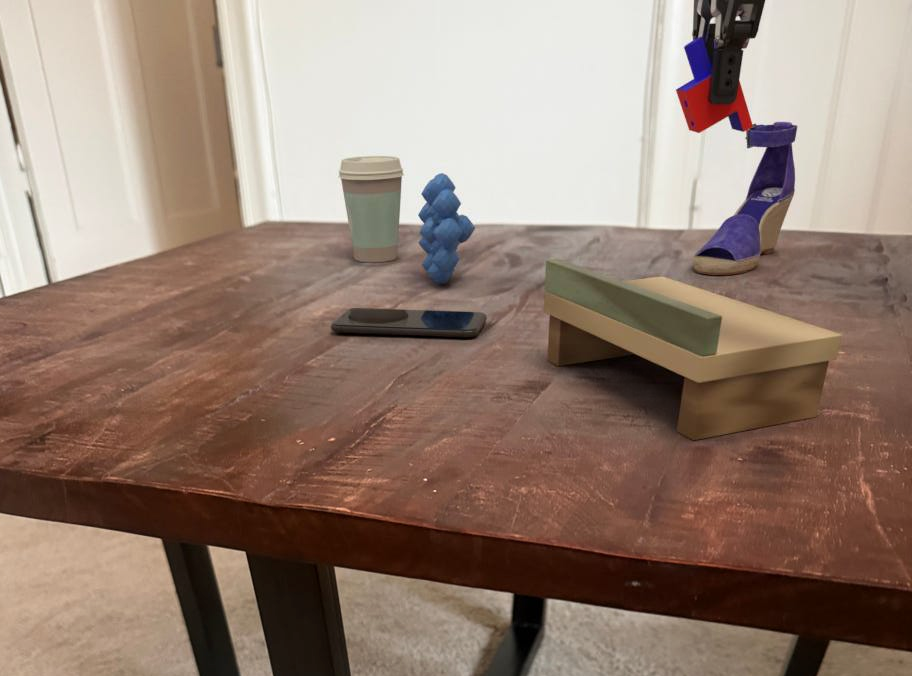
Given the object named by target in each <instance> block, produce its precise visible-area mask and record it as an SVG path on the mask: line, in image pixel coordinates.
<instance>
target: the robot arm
mask: <svg viewBox="0 0 912 676" xmlns="http://www.w3.org/2000/svg"><path fill="white" fill-rule="evenodd" d="M765 3H766V0H693V17H692V33H691V36H692V41H693V40H695V39H697V38H699V37H702V38H703V41H704V45H705V48H706V51H707V54H708V57H709V61H710V64H711V67H712V70H711V78H710V86H709V94H708V101H709V102H710V103H711V104H732V103H733V102H734V101H735V100H736V98H737V92H738V85H739V81H740V77H741V72H742V71H741V70H742V63H743V56H744V49H747V48H748V46H749V43H750V39H751V40H752V39H756V37H757V35H758V32H759V29H760V28H759V27H760V25H761V24H760V23H761V20H762V16H763V11H764V8H765ZM737 17H739V19H737ZM713 18H715V23H711V20H712V19H713Z"/></svg>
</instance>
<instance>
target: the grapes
mask: <svg viewBox="0 0 912 676" xmlns="http://www.w3.org/2000/svg"><path fill="white" fill-rule="evenodd" d="M455 190H456V186H455V184H454V182H453V181H452V179H451V178H450V177H449V176H448V174H445V173H443V172H441V173H438V174H436V175H435V176H434V177H433V178H432V179H430V180H429V181H428V182H427V184H426V185H425V186H424V187H423V190H422V192H421V193H420V194H421V196H422V198H423V200H424V201H425V203H424V205H423V206H422V208H421V209H420V211H419V212H418V215H417V216H418V217H419V219H420V221H421V222H422V223H423V225H422V226H421V228H420V230H419V231H418V232H419V234H420V235H421V237H420V239H419V241H418V245H419V246H420V247H421V249H422V250H423V251H424V252H425V254H427V255H426V257H425V258H424V260H423V262H422V264H421V266H422V267H423V269H424V270H425V271H426V272H427V274H428V275H429V277H430V278H431V279H432V281H434V282H435V283H436V284H438V285H443V284H447V282H448V281H449V280H450V278H451V277H452V275H453V273H454V272H455V268H456V267H457V265H458V263H459V262H460V260H461V257H460V255H459V254H458V253H457V250H458V247H459V245H460V244H463V243H465V242H467V241H468V240H469V239H470V238H471V237H472V234H473V233H474V232H475V230H476V227H475V225H474V224H473V222H472V220H471V219H470V218H469V217H468V216H467V215H465V214H460V215H459V213H458V210H459V208H460V206H461V205H462V202H461V201H460V199H459V197H458V196H457V194H456V193H455Z"/></svg>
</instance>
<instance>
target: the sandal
mask: <svg viewBox="0 0 912 676" xmlns="http://www.w3.org/2000/svg"><path fill="white" fill-rule="evenodd" d="M752 124H753V127H752V128H750V129H748V130H746V131H745V135H746V136H745V140H746V149H752V148H765V150H764V153H763V155H762V157H761V159H760V161H759V163H758V165H757V167H756V170H755V172H754V174H753V177H752V179H751V181H750V184H749V187H748V191H747V194H746V196H745V200H744V201H743V202H742V204H741V205H740V206H739V208H737V210H736V212H735V213H734V214H733V215H732V216H730V217H727V218H726V219H725V220H724V221H723V222H722V224H721V225H720V227H719V228H718V229H717V230H716V232H715V233H714V234H713V236H712V237H711V238H710V239H709V240H708V241H707V242H706V243H705V245H703V246H702V247H701V248H700V249H699V250H698V251H697V252H696V253H695V254H694V256H693V271H695V272H696V273H698V274H703V275H711V276H731V275H738V274H742V273H743V274H744V273H747V272H751V271H753V270H755V269H756V268H757V267H758V263H759V262H760V259H761V255H769V254H771V253H774V252H775V248H776V245H777V244H778V240H779V236H780V233H781V229H782V227H783V224H784V222H785V219H786V216H787V213H788V211H789V209H790V207H791V203H792V200H793V198H794V196H795V192H796V190H795V189H796V188H795V187H796V186H795V185H796V184H795V183H796V168H795V161H794V153H793V152H794V151H793V143H795V141H796V137H797V131H798V125H797V124H793V123H792V122H790V121H776V122H775V121H774V122H773V124H757V123H752Z"/></svg>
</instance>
